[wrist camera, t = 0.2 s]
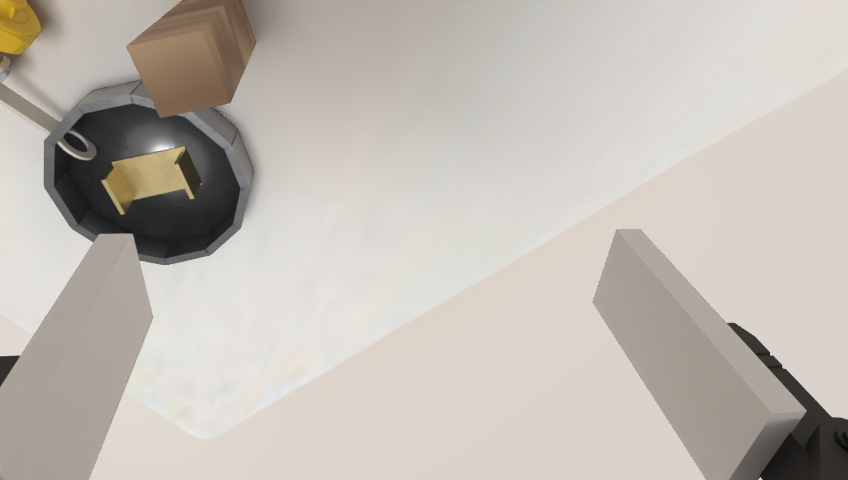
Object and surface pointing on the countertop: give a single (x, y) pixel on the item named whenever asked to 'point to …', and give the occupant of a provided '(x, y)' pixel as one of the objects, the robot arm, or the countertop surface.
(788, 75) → the countertop surface
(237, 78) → the wooden beam block
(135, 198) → the tin
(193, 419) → the countertop surface
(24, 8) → the pressure relief valve
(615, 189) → the countertop surface
